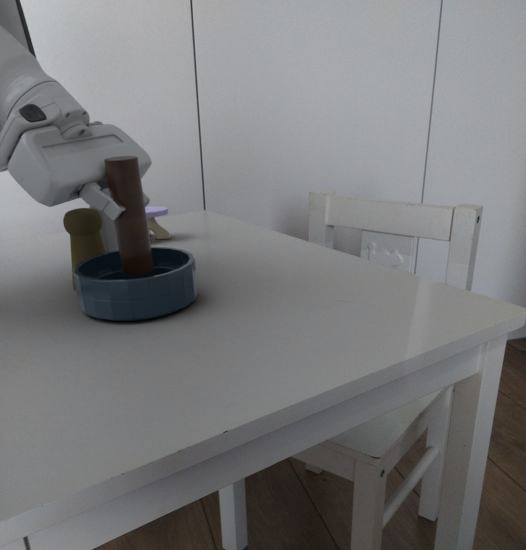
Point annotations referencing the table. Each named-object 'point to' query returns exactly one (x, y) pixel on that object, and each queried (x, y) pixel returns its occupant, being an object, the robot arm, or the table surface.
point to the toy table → (152, 223)
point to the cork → (83, 235)
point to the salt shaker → (107, 229)
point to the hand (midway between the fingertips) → (132, 210)
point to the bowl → (136, 286)
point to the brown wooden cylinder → (130, 214)
